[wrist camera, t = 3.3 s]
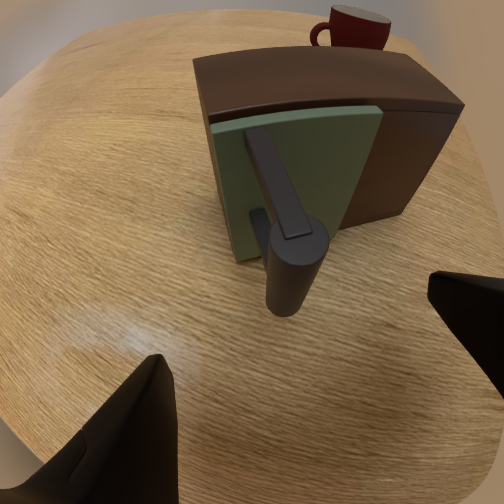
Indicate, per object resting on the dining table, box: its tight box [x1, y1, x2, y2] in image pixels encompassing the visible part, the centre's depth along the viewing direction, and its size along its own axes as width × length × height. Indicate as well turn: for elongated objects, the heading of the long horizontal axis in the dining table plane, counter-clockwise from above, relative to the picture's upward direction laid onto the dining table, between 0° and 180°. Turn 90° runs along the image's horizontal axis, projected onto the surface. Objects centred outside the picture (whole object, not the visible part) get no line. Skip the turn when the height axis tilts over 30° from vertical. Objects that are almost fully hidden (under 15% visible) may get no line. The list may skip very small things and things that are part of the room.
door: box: [210, 106, 383, 317], centre depth 13 cm, size 6×7×11 cm
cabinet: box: [193, 46, 465, 254], centre depth 16 cm, size 6×14×12 cm, turn 105°
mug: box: [310, 5, 391, 50], centre depth 27 cm, size 10×8×10 cm
